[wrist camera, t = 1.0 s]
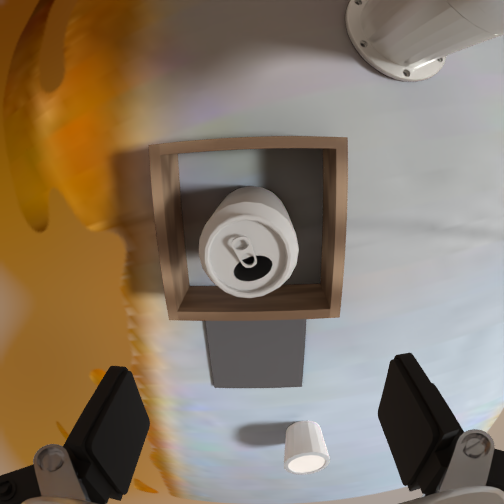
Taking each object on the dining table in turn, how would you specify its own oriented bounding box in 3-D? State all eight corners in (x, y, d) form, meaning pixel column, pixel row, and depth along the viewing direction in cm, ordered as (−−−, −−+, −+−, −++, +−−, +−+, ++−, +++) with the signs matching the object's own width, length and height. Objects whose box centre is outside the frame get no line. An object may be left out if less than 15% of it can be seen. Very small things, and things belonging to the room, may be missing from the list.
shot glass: (310, 412, 42) (315, 447, 36) (331, 431, 44) (338, 463, 37) (273, 429, 44) (274, 463, 37) (296, 447, 45) (299, 479, 39)
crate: (168, 145, 31) (148, 145, 25) (332, 139, 30) (347, 137, 24) (182, 293, 36) (169, 319, 30) (328, 291, 35) (339, 317, 30)
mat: (205, 312, 37) (204, 314, 36) (306, 310, 36) (306, 312, 36) (214, 385, 41) (214, 387, 40) (301, 384, 40) (301, 386, 40)
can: (233, 263, 35) (219, 319, 23) (205, 200, 33) (176, 230, 21) (297, 239, 34) (315, 287, 22) (272, 174, 31) (279, 189, 20)
